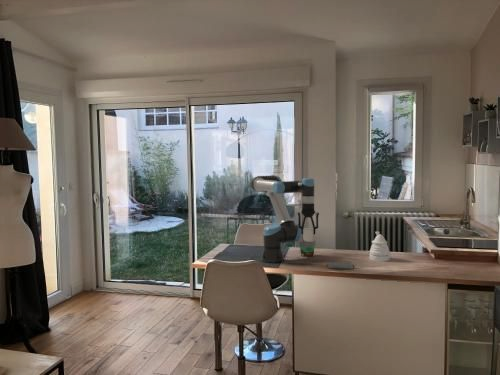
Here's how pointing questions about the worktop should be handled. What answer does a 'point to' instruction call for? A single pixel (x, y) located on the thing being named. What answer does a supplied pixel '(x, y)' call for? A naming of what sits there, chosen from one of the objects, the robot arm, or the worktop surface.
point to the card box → (307, 234)
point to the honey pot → (379, 249)
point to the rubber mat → (340, 265)
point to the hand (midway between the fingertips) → (308, 239)
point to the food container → (307, 249)
